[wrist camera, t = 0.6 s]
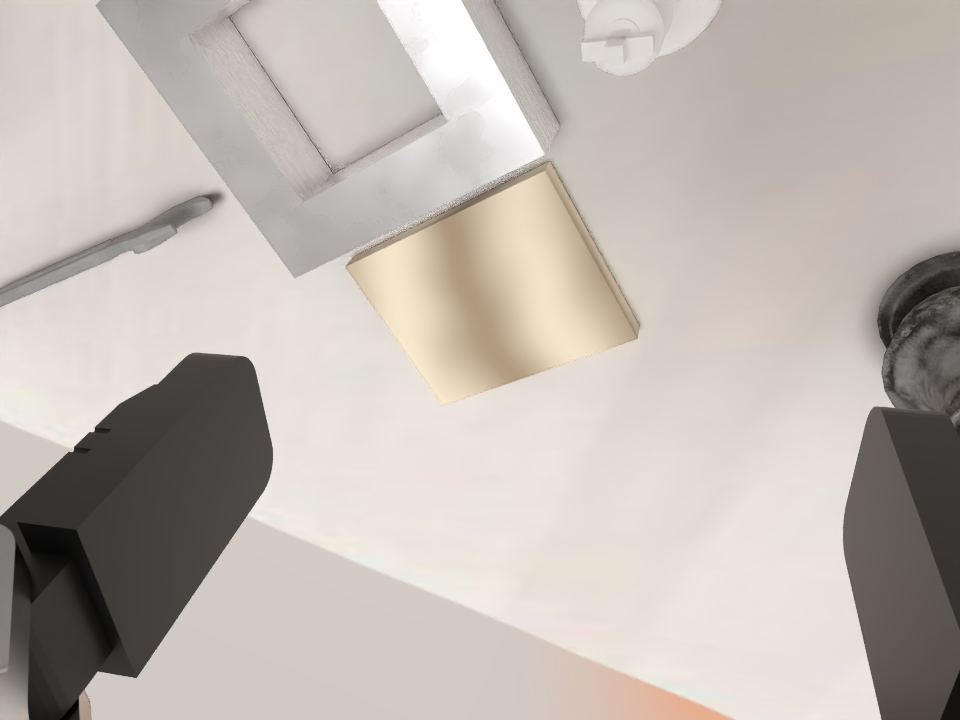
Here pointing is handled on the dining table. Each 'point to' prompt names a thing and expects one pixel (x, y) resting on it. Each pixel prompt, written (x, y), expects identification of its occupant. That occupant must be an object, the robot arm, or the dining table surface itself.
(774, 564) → the dining table surface
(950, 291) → the salt shaker
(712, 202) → the dining table surface
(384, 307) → the birch pad
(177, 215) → the combination wrench
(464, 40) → the socket block
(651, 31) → the chess piece
